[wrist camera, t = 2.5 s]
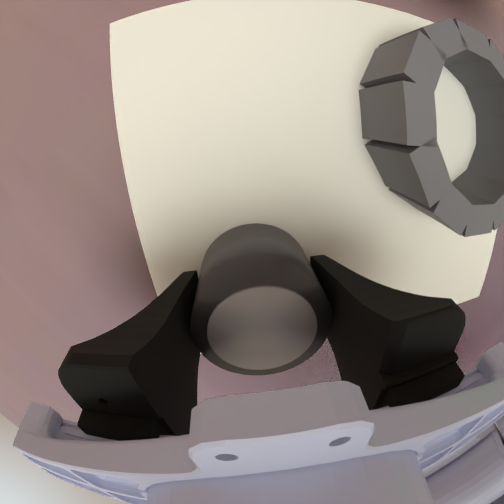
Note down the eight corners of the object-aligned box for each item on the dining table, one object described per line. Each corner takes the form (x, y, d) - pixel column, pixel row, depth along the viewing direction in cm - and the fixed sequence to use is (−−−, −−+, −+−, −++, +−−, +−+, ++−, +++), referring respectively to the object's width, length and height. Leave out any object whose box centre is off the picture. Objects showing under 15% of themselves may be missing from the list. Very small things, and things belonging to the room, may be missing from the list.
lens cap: (307, 308, 14) (328, 368, 10) (212, 320, 14) (206, 383, 10) (305, 217, 12) (337, 261, 8) (191, 231, 12) (172, 281, 8)
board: (473, 291, 16) (504, 322, 12) (181, 346, 16) (170, 402, 12) (488, 53, 8) (533, 52, 4) (116, 28, 8) (72, -2, 4)
